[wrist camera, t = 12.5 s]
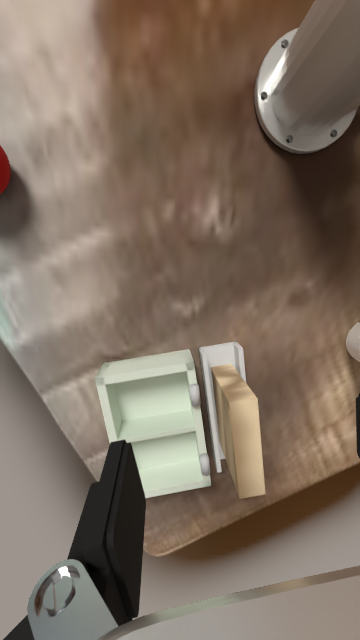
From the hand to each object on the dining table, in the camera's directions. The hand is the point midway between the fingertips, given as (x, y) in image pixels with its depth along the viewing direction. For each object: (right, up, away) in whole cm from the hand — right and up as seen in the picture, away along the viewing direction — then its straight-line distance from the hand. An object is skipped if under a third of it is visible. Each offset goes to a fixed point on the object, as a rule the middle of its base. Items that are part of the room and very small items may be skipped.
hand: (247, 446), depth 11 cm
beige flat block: (+4, -7, +28) cm, 29 cm away
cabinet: (-2, -8, +28) cm, 29 cm away
